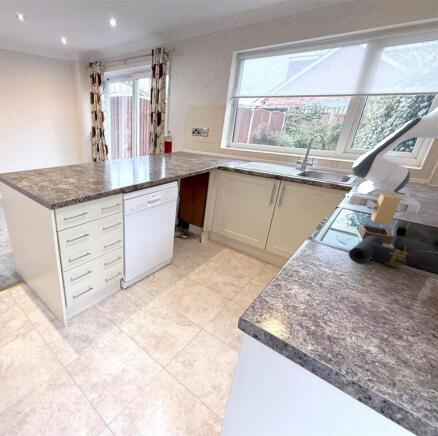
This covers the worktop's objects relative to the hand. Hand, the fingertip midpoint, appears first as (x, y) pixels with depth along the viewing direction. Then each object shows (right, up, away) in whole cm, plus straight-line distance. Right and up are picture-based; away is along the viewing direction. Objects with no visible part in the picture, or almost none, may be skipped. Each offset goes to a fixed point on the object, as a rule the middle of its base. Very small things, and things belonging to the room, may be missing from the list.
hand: (386, 208), depth 87 cm
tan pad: (0, -5, +3) cm, 6 cm away
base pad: (0, -12, +6) cm, 13 cm away
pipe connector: (-11, -17, -8) cm, 22 cm away
